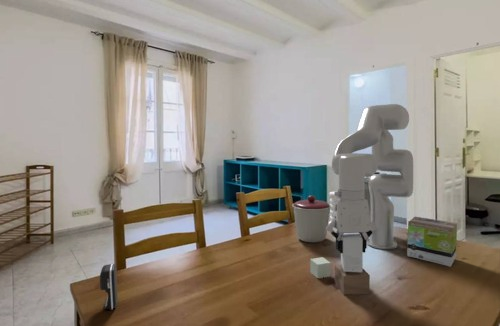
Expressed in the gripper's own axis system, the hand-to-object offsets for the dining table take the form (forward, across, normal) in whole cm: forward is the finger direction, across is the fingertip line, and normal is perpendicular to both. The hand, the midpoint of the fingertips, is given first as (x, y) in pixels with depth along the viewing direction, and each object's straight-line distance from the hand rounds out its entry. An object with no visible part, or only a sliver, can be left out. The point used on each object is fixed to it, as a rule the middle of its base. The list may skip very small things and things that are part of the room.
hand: (351, 250), depth 92 cm
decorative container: (+13, +20, +69) cm, 73 cm away
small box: (+5, 0, 0) cm, 5 cm away
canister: (+12, -1, +47) cm, 48 cm away
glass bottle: (+13, +30, +55) cm, 64 cm away
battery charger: (+12, -73, -6) cm, 74 cm away
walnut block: (+12, 0, 0) cm, 12 cm away
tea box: (+12, +40, +21) cm, 47 cm away
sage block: (+12, -7, +10) cm, 17 cm away
